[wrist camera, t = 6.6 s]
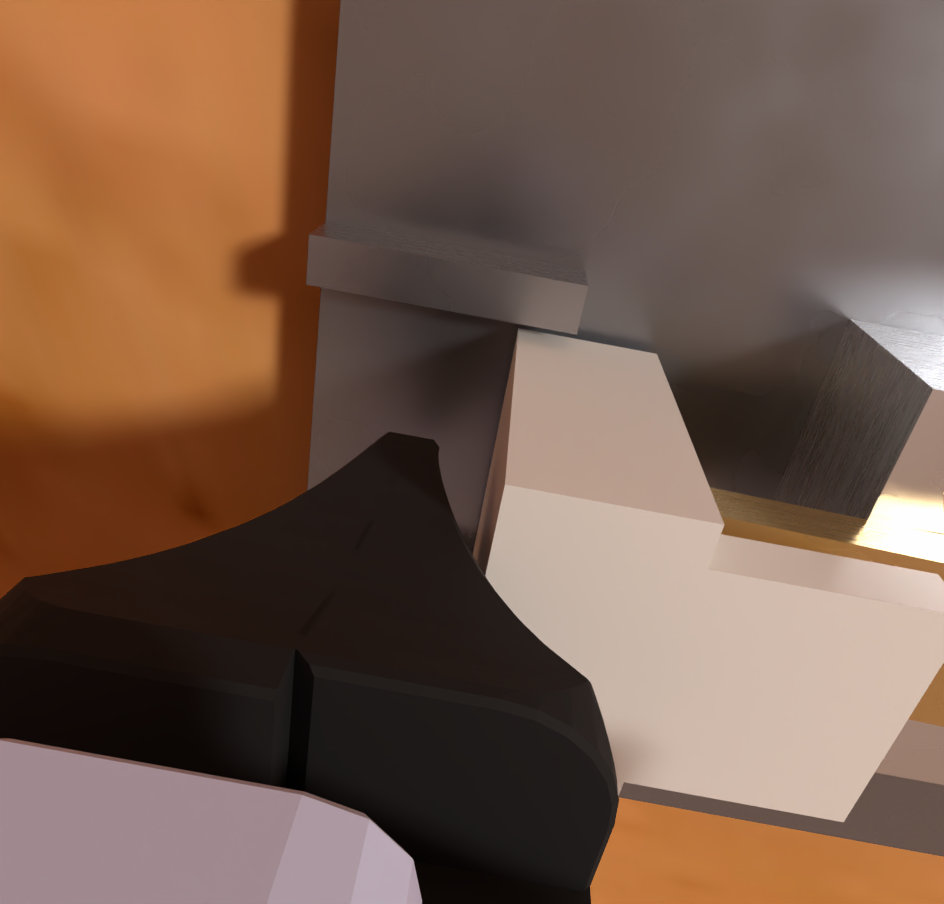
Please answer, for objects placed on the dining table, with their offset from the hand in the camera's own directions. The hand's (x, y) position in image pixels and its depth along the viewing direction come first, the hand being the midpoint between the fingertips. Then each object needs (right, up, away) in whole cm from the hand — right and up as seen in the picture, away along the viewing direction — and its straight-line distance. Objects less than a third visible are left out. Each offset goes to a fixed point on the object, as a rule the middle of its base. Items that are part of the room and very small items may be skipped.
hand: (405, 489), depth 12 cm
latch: (+4, 0, +2) cm, 5 cm away
